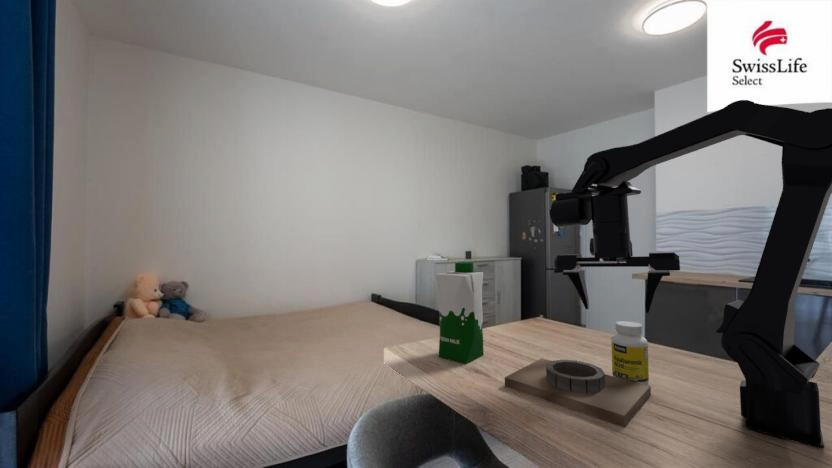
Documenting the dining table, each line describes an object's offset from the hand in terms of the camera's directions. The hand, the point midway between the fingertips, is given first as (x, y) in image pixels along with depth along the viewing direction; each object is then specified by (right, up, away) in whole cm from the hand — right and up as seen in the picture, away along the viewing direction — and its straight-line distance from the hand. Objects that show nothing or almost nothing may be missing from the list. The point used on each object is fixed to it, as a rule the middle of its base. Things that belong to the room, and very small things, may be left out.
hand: (615, 310), depth 60 cm
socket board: (-9, -12, -5) cm, 16 cm away
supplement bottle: (+2, -12, -1) cm, 12 cm away
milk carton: (-26, -13, +13) cm, 32 cm away
